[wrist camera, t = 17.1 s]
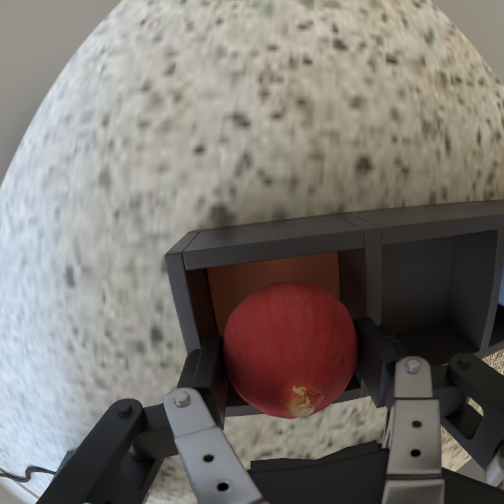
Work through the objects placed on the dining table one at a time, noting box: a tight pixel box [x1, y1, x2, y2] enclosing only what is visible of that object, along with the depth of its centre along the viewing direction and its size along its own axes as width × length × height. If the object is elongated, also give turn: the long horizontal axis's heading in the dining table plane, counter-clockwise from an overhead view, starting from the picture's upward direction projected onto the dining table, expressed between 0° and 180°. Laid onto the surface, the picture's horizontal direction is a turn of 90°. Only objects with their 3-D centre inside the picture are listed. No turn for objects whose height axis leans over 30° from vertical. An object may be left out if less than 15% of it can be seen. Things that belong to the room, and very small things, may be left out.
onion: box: [222, 280, 358, 419], centre depth 12 cm, size 6×6×8 cm
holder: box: [164, 200, 504, 417], centre depth 15 cm, size 26×9×5 cm, turn 97°
